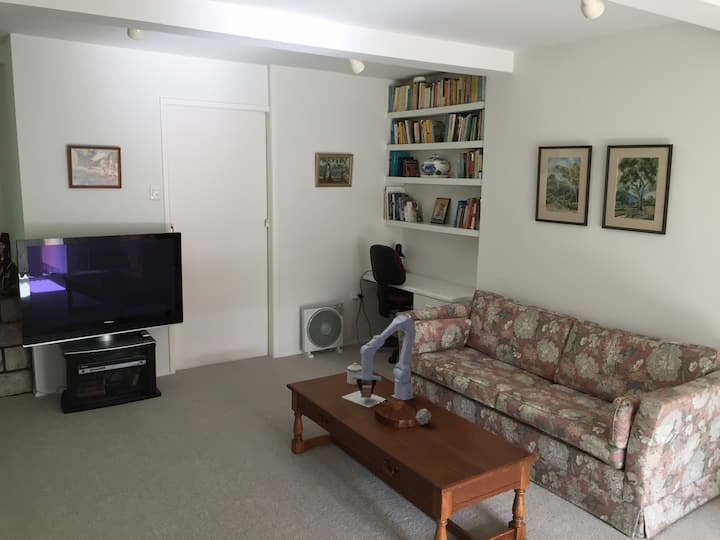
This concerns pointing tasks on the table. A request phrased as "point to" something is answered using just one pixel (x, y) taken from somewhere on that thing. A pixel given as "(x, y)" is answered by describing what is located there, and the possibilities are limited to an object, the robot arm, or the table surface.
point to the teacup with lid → (353, 373)
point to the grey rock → (423, 416)
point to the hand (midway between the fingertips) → (366, 393)
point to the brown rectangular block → (366, 392)
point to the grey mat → (364, 399)
